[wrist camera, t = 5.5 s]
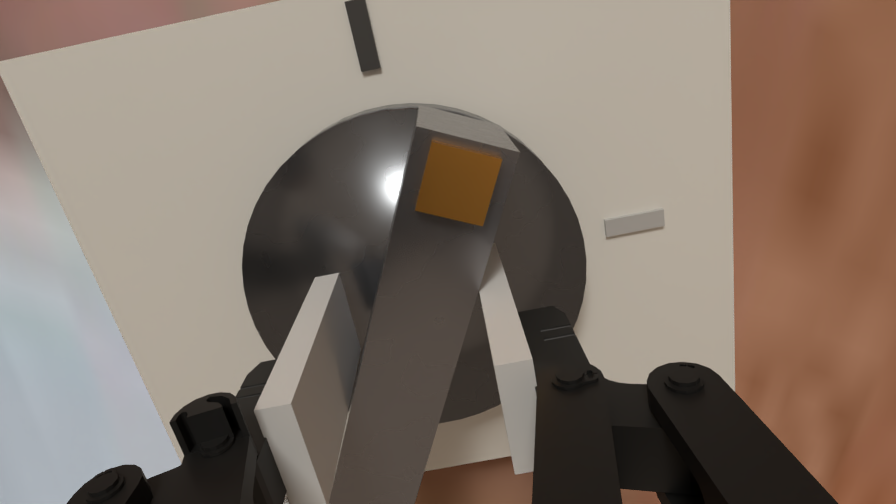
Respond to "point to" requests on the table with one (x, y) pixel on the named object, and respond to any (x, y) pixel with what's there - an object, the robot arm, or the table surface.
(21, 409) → the table surface
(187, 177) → the dial board
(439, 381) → the dial
